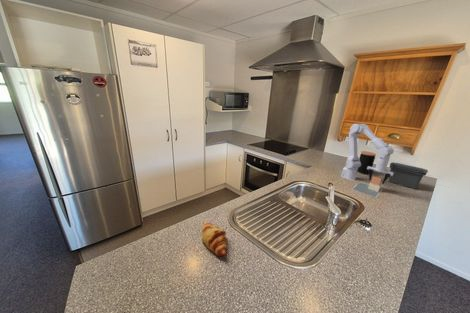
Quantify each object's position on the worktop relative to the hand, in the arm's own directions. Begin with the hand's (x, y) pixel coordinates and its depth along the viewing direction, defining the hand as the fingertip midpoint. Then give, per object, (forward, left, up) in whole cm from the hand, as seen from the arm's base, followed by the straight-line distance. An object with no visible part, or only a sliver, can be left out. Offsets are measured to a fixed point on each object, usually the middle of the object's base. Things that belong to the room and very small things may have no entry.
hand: (376, 181), depth 130 cm
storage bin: (+12, +32, -7) cm, 35 cm away
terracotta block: (0, 0, -2) cm, 2 cm away
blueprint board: (-3, -5, -6) cm, 9 cm away
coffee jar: (-15, +33, -7) cm, 37 cm away
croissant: (-33, -118, -7) cm, 122 cm away
